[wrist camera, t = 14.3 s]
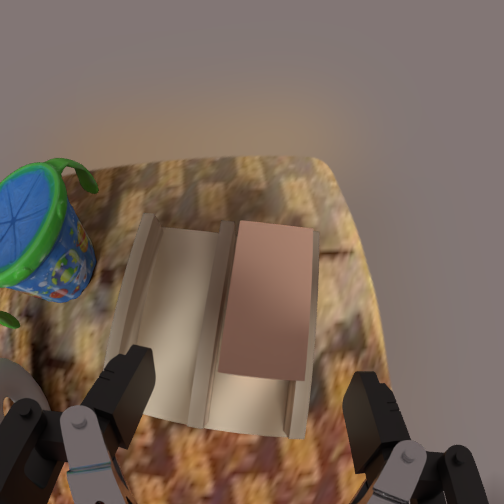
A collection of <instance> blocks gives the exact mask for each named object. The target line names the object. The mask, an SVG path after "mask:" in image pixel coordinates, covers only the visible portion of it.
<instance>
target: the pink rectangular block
mask: <svg viewBox="0 0 504 504" xmlns="http://www.w3.org/2000/svg"><path fill="white" fill-rule="evenodd" d="M312 259H313V229H312V228H304V227H296V226H288V225H279V224H271V223H262V222H253V221H244V220H240V225H239V231H238V237H237V243H236V250H235V256H234V263H233V269H232V276H231V282H230V289H229V296H228V302H227V309H226V316H225V323H224V330H223V337H222V344H221V351H220V358H219V365H218V373H223V374H228V375H233V376H241V377H249V378H259V379H269V380H282V381H305V372H306V361H307V349H308V336H309V322H310V305H311V286H312Z"/></svg>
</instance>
